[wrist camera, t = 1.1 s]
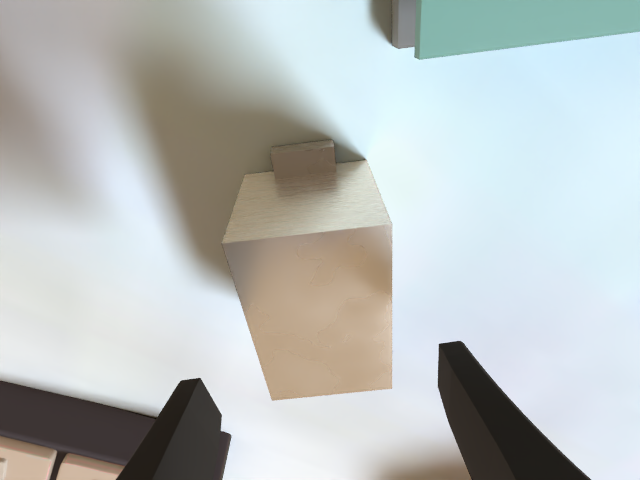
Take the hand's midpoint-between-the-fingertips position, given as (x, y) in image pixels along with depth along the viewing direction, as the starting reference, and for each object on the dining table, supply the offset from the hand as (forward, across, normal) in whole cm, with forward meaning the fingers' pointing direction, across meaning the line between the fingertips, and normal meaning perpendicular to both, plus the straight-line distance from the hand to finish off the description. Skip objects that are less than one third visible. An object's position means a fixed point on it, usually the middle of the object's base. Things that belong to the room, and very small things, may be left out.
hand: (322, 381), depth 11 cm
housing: (+7, 0, 0) cm, 7 cm away
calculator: (+8, +18, +15) cm, 24 cm away
